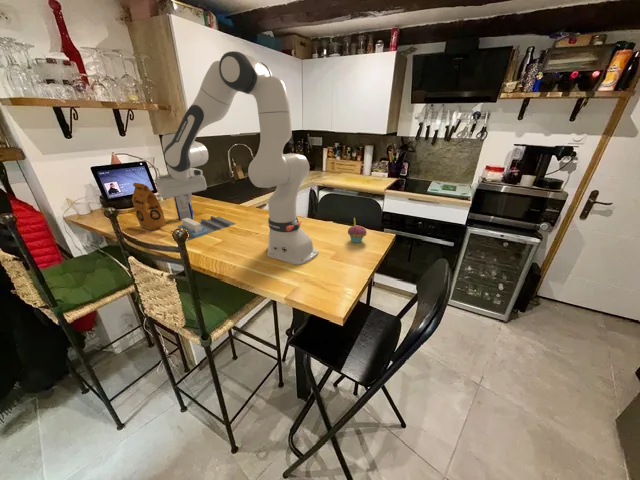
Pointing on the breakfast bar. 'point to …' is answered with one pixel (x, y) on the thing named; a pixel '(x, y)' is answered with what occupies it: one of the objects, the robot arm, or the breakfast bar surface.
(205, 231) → the duct board
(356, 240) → the cupcake
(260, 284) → the breakfast bar surface
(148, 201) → the coffee package
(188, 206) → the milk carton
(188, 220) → the light grey block
